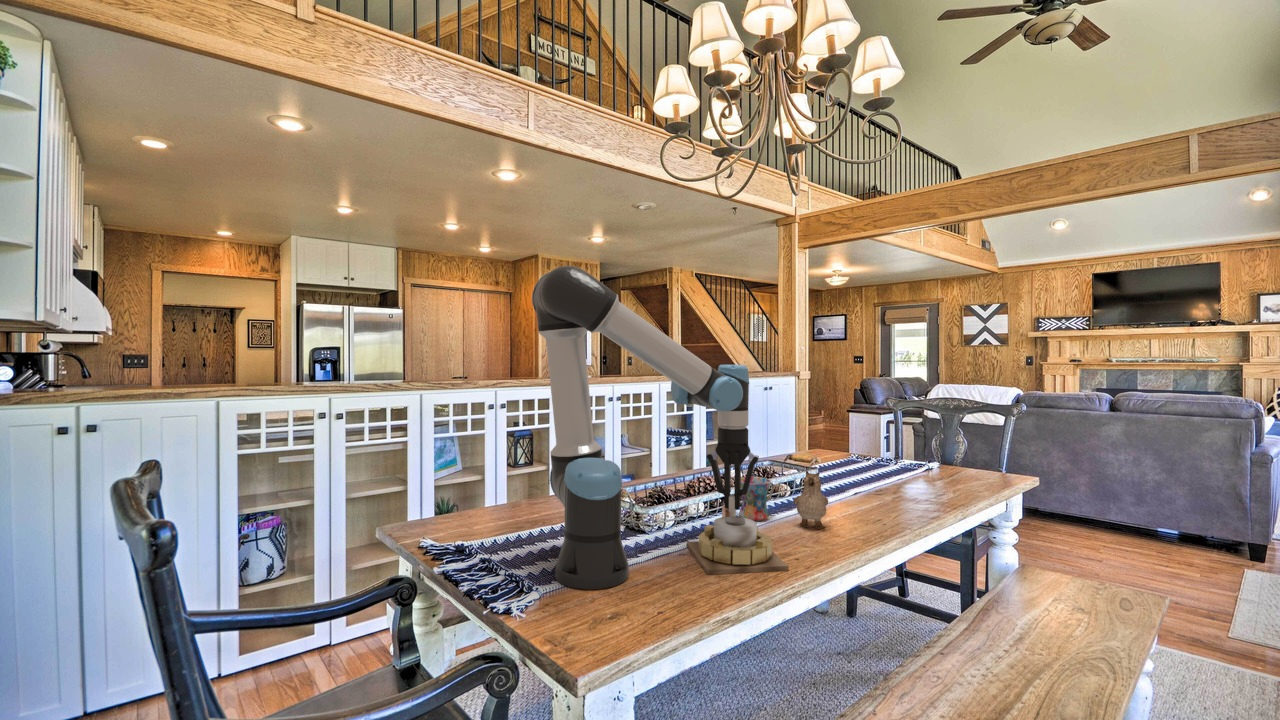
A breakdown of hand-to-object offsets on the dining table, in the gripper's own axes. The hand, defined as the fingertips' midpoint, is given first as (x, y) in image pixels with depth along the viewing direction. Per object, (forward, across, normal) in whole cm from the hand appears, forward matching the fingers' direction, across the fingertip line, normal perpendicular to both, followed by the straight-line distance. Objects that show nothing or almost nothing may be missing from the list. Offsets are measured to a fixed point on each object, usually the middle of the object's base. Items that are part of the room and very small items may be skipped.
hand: (732, 521), depth 148 cm
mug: (+5, -4, -22) cm, 23 cm away
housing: (+5, -2, +12) cm, 14 cm away
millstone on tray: (+3, -1, +9) cm, 10 cm away
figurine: (+5, -18, -18) cm, 26 cm away
